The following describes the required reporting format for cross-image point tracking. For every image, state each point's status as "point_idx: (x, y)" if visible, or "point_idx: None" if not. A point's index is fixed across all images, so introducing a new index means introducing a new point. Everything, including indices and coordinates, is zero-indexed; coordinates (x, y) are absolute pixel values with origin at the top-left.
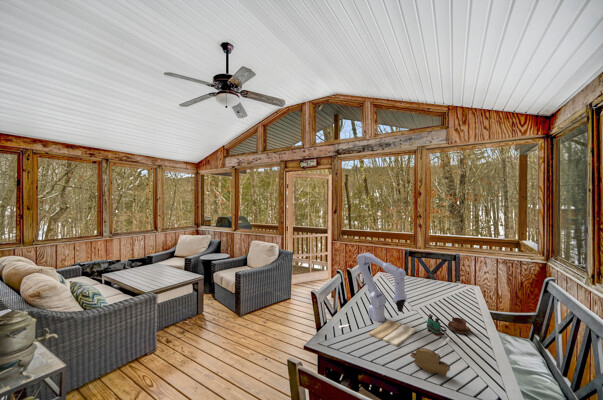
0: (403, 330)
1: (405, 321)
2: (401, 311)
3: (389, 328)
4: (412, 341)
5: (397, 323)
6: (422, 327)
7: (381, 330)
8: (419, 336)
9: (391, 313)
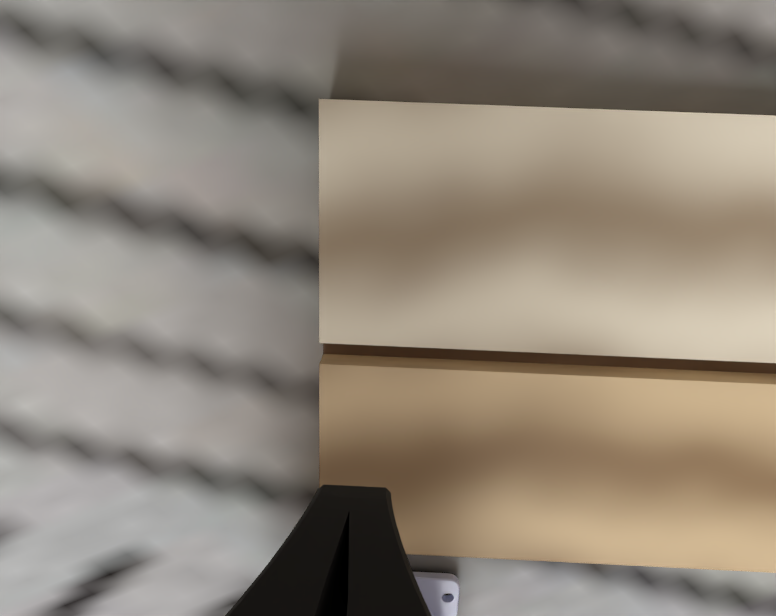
0: (522, 248)
1: (93, 375)
2: (389, 498)
3: (603, 437)
4: (658, 30)
5: (345, 417)
6: (57, 92)
7: (748, 492)
8: (408, 4)
9: (31, 603)
